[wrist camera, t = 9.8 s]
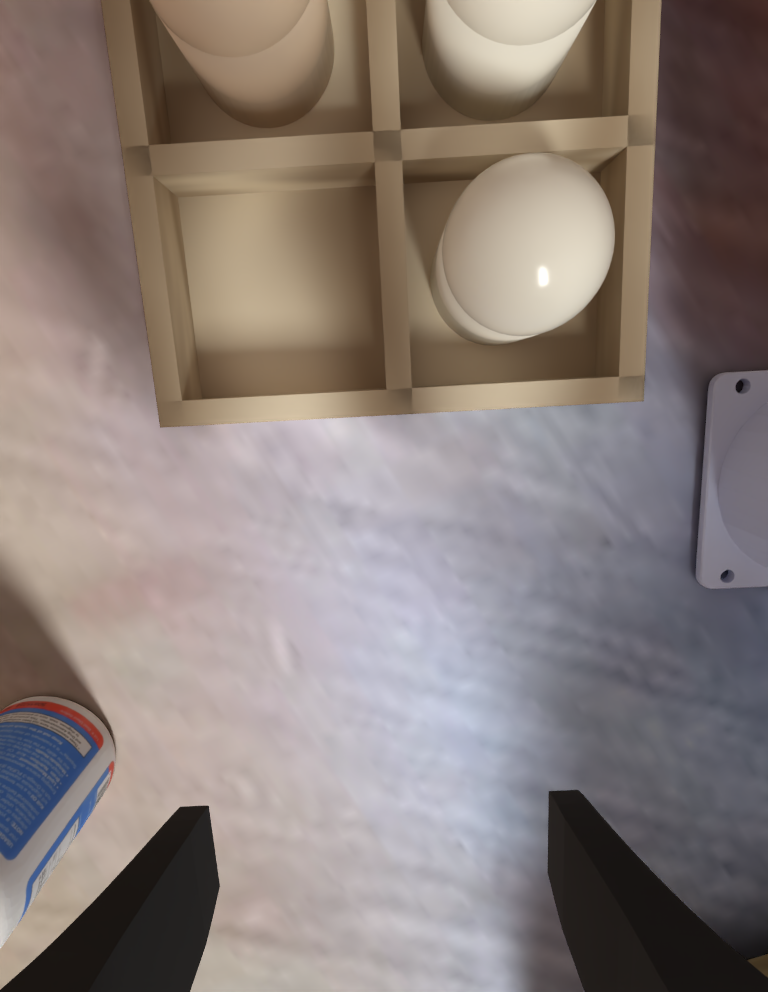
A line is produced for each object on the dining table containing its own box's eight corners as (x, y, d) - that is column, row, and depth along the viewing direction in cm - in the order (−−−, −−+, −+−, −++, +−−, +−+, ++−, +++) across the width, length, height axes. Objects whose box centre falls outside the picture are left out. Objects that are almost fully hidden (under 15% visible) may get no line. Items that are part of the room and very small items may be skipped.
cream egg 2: (557, 199, 18) (644, 105, 12) (564, 337, 19) (649, 316, 13) (423, 215, 18) (442, 132, 12) (436, 353, 19) (460, 339, 13)
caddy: (628, -120, 17) (670, -205, 14) (611, 398, 20) (643, 401, 17) (122, -85, 17) (78, -163, 14) (187, 421, 20) (160, 427, 18)
